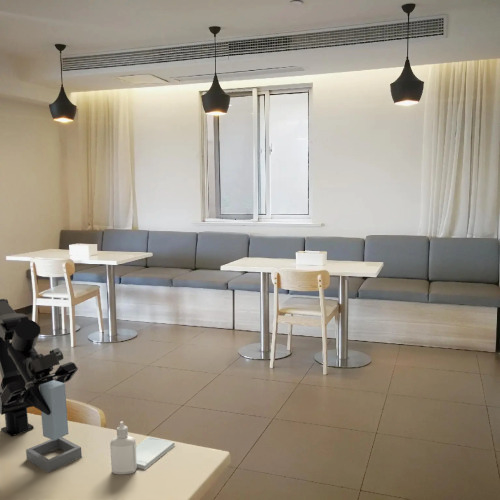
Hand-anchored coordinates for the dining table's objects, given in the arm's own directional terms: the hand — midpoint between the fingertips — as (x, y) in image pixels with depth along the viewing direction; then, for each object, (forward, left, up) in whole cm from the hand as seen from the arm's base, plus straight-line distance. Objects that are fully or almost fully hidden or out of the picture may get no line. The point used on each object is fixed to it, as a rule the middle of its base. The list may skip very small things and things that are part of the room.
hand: (57, 410), depth 127 cm
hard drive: (+15, +14, -13) cm, 25 cm away
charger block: (-1, 0, -7) cm, 7 cm away
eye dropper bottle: (+17, +6, -13) cm, 22 cm away
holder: (-2, -1, -12) cm, 13 cm away
